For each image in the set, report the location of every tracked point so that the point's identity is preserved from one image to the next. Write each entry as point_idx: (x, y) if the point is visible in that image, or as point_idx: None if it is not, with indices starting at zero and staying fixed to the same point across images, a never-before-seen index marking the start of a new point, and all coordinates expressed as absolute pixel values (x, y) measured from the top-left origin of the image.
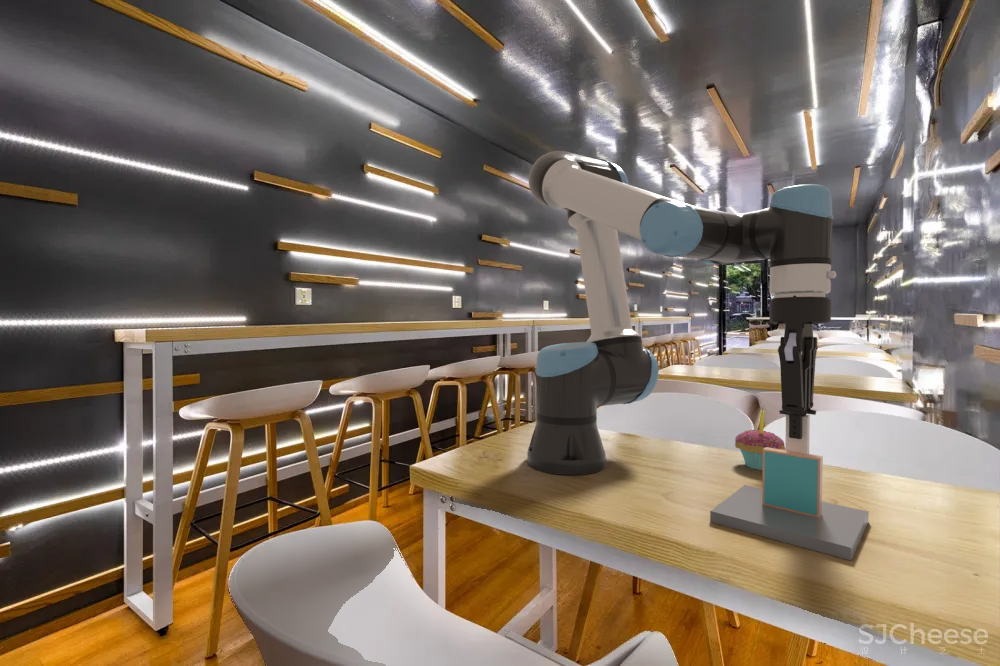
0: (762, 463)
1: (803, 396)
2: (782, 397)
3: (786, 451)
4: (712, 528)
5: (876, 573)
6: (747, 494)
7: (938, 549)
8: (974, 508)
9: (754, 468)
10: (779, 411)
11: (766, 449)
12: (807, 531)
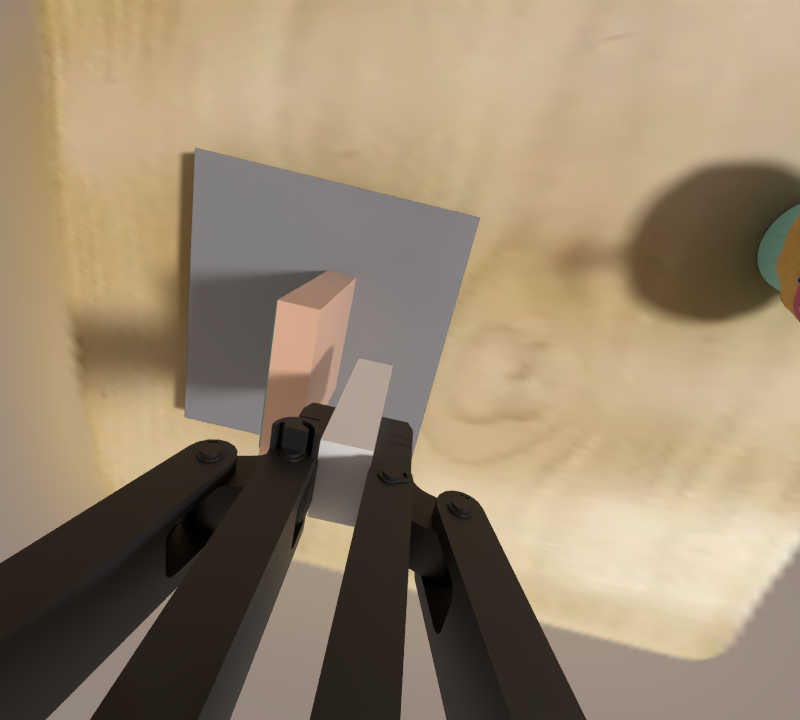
0: (771, 259)
1: (172, 591)
2: (124, 489)
3: (292, 374)
4: (175, 163)
5: (174, 432)
6: (388, 230)
7: (334, 523)
8: (588, 617)
9: (768, 231)
10: (278, 421)
11: (281, 311)
12: (212, 357)
